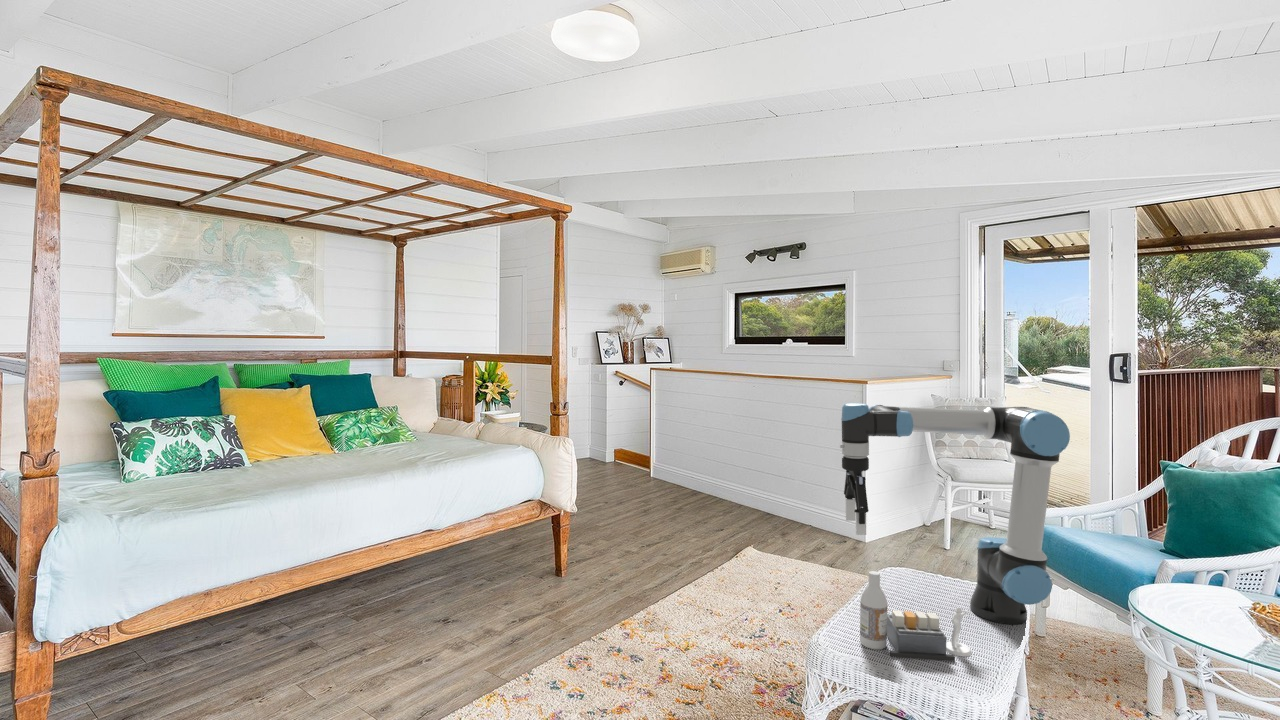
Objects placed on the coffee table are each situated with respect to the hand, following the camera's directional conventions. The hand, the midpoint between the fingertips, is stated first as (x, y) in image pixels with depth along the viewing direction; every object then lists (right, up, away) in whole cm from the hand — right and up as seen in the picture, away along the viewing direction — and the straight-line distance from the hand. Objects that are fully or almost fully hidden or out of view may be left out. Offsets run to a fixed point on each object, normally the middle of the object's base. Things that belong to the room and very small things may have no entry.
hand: (855, 527), depth 180 cm
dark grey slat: (+11, -29, -19) cm, 37 cm away
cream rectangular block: (+16, -23, -14) cm, 32 cm away
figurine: (+22, -30, -15) cm, 40 cm away
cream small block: (+7, -23, -13) cm, 27 cm away
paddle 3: (+13, -23, -14) cm, 30 cm away
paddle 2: (+10, -23, -13) cm, 29 cm away
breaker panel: (+12, -29, -13) cm, 34 cm away
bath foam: (+1, -29, -12) cm, 32 cm away
